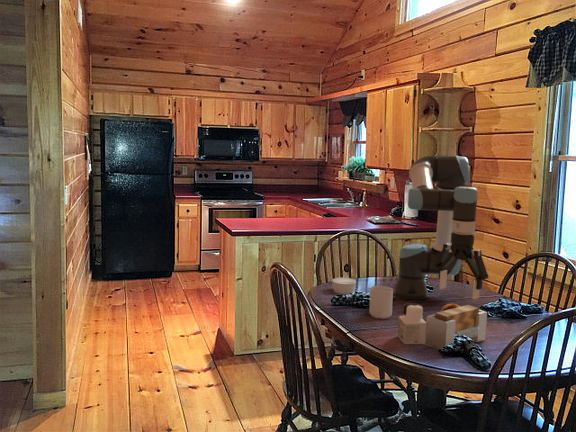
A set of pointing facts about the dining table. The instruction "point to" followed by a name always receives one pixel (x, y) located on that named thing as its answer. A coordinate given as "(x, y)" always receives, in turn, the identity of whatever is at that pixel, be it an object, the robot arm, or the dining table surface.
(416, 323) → the container
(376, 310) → the mug
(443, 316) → the rail
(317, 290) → the dining table surface
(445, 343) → the brackets
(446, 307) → the croissant
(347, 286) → the ramekin
